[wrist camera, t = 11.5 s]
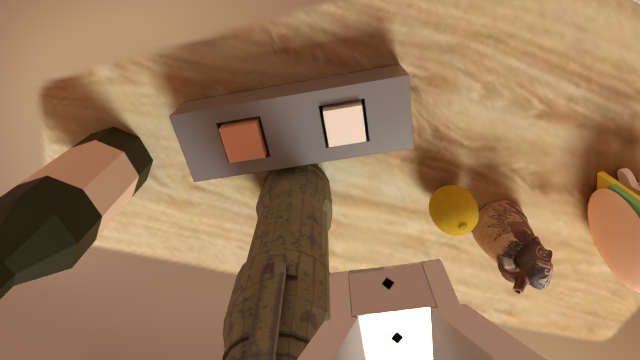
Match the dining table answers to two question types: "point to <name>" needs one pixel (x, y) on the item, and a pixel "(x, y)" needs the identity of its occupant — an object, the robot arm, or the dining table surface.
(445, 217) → the lemon
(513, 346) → the robot arm
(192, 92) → the dining table surface
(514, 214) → the figurine
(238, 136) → the clay key
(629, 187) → the hamburger
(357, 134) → the pale key
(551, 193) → the dining table surface
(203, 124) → the key panel
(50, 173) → the wine bottle
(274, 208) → the thermos
